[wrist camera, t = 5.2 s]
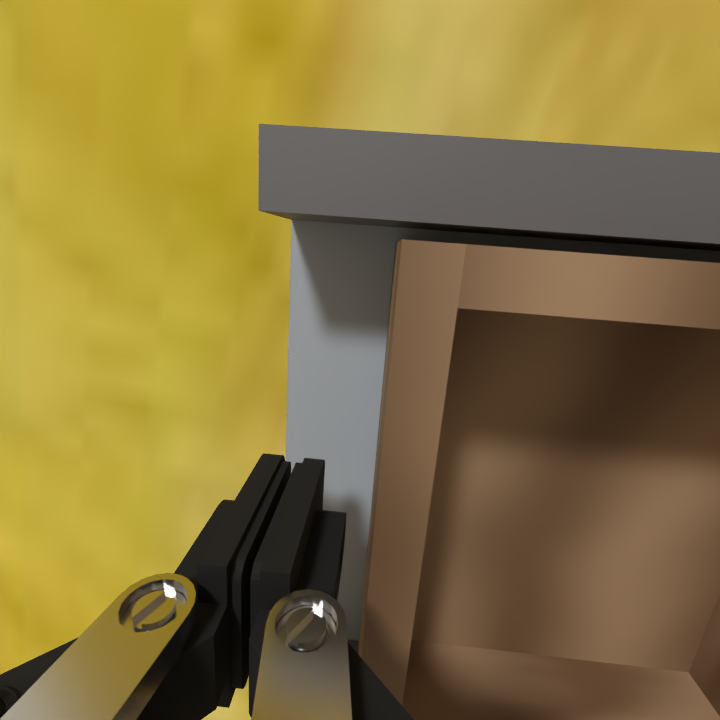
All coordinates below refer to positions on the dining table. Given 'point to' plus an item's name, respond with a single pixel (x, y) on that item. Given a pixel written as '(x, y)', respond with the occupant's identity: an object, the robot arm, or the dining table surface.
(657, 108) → the dining table surface
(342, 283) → the bay
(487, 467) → the box
